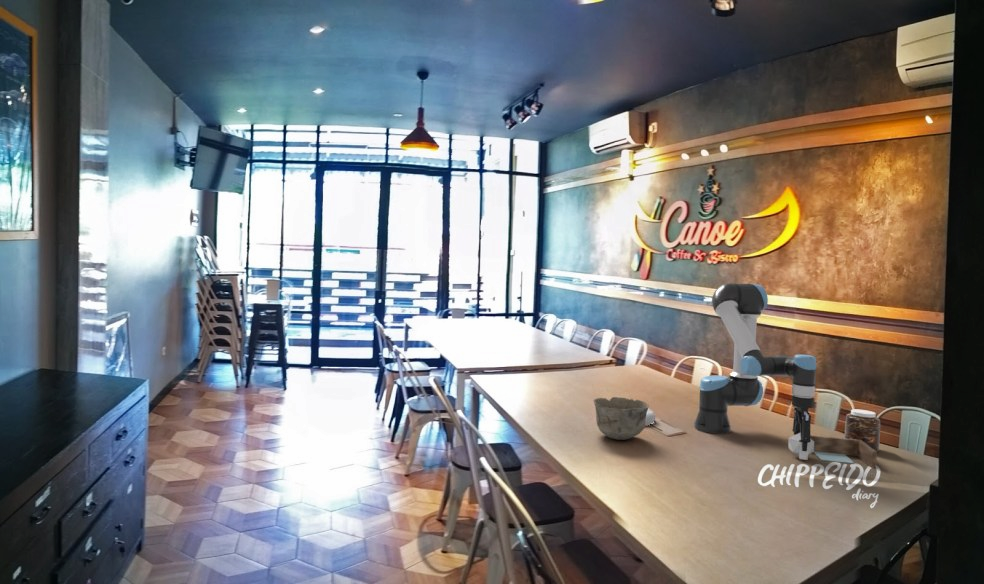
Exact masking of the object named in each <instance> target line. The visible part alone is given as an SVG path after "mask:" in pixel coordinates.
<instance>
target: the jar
mask: <svg viewBox="0 0 984 584" xmlns="http://www.w3.org/2000/svg"><path fill="white" fill-rule="evenodd" d="M844 424H845V425H844V438H845V439H856V440H862V441H863V442H864V443H866V444H867V445H868V446H870V447H871V448H872V449H874V450H875V451H877V453H879V451H880V441H881V440H880V438H881V437H880V436H881V420H880V418H878V417H876V412H874V411H871V410H866V409H858V408H857V409H856V408H855V409H854V408H853V409H851V410H850V413H848V414H846V415H845V423H844Z"/></svg>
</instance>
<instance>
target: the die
mask: <svg viewBox="0 0 984 584" xmlns="http://www.w3.org/2000/svg"><path fill="white" fill-rule="evenodd" d="M805 439H807V438H805ZM799 440H801V433H798V434H796V435H794V434H793V435H792V436H790V437H788V449H789V450H790V451H791V452H792V453H793V454H794V455H796V456H797V457H799V449H800V442H799ZM810 440H811V439H810ZM812 453H814V441H813V440H811V441H810V442H809V443H808V456H809V455H811V454H812Z"/></svg>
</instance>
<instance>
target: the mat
mask: <svg viewBox="0 0 984 584" xmlns="http://www.w3.org/2000/svg"><path fill="white" fill-rule="evenodd" d="M813 454H815V456H816V457H818V459H819V460H821V461H822V462H831V463H832V462H833V463H834V462H835V463H842V464H853V465H854V464H855V462H854V460H852V459H851V458H850V457H848V455H845V454H836V453H826V452H815V451H814V452H813Z"/></svg>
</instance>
